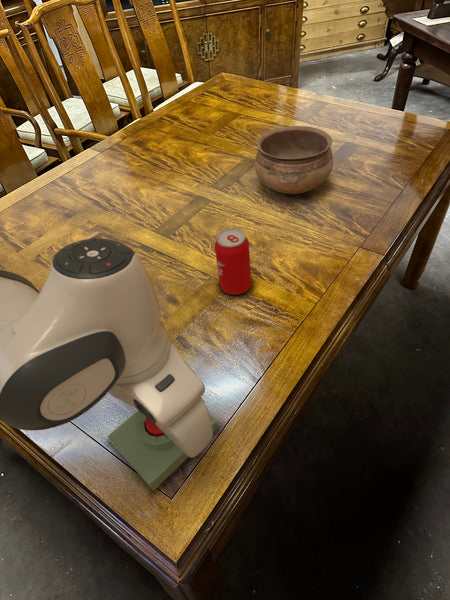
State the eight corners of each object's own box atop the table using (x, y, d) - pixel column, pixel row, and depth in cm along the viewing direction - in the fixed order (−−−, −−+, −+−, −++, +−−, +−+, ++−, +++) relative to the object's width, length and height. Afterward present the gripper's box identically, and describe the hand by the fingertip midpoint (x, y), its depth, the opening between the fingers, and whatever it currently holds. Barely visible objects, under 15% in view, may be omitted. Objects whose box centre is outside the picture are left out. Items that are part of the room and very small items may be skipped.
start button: (159, 444, 57) (156, 438, 56) (143, 428, 59) (140, 421, 58) (178, 426, 59) (176, 420, 58) (162, 411, 61) (160, 404, 60)
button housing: (153, 491, 56) (147, 478, 53) (111, 443, 61) (103, 430, 58) (217, 429, 61) (214, 415, 58) (173, 390, 67) (168, 375, 64)
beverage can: (236, 271, 86) (231, 222, 77) (258, 285, 82) (255, 235, 74) (213, 286, 83) (206, 238, 75) (235, 301, 79) (230, 252, 71)
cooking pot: (328, 217, 96) (334, 168, 88) (248, 213, 100) (245, 166, 92) (331, 164, 113) (336, 119, 105) (262, 163, 117) (261, 119, 109)
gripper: (66, 332, 52) (99, 392, 62) (170, 433, 41) (190, 487, 51) (107, 304, 55) (133, 366, 65) (215, 392, 44) (226, 450, 54)
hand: (159, 420), depth 58 cm, fingers closed, pressing on start button
